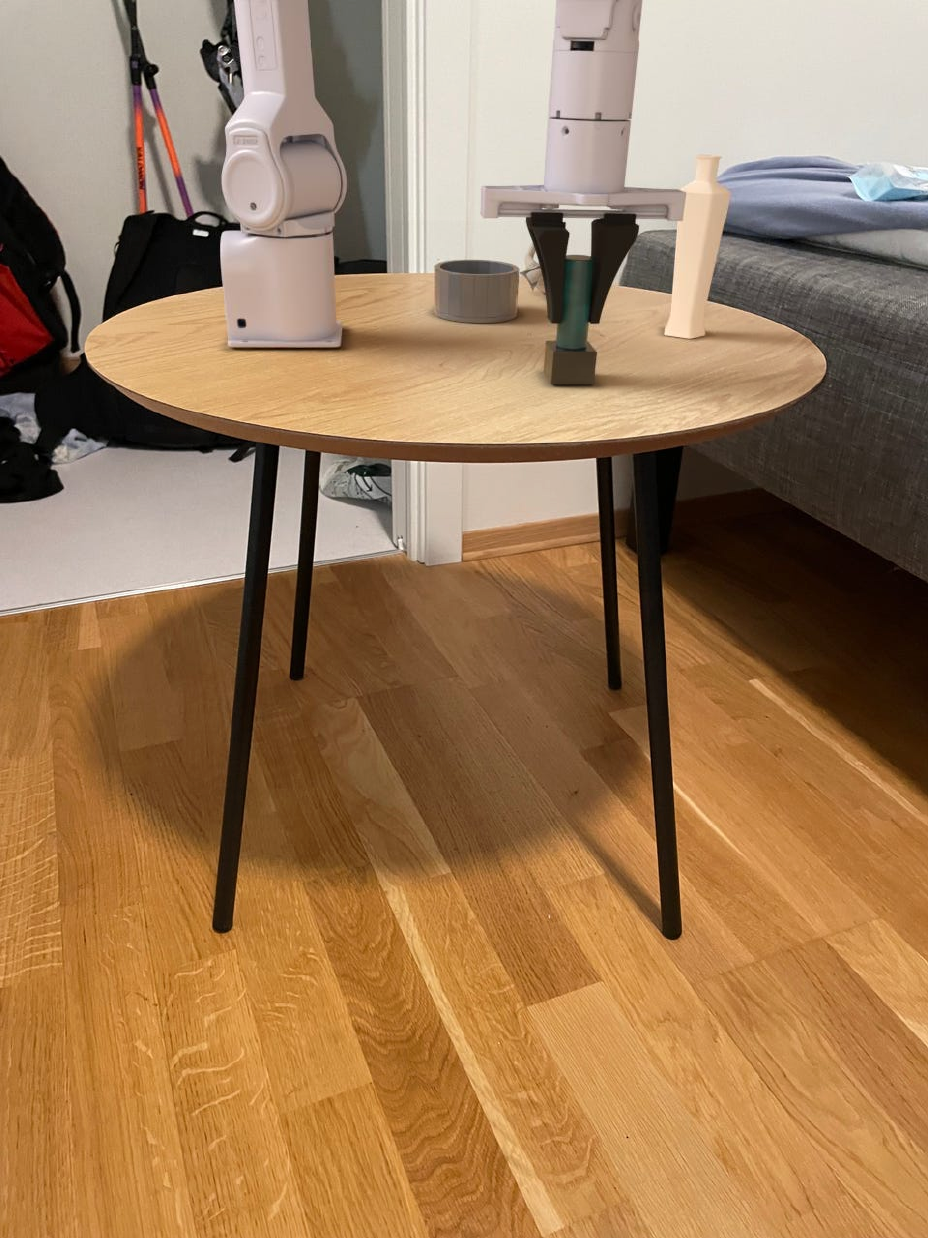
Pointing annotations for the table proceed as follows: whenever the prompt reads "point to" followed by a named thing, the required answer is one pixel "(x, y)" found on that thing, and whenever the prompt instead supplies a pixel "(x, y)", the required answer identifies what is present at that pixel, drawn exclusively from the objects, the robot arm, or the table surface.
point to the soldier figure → (533, 271)
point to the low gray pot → (476, 291)
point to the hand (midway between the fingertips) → (572, 320)
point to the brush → (573, 327)
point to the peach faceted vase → (697, 248)
